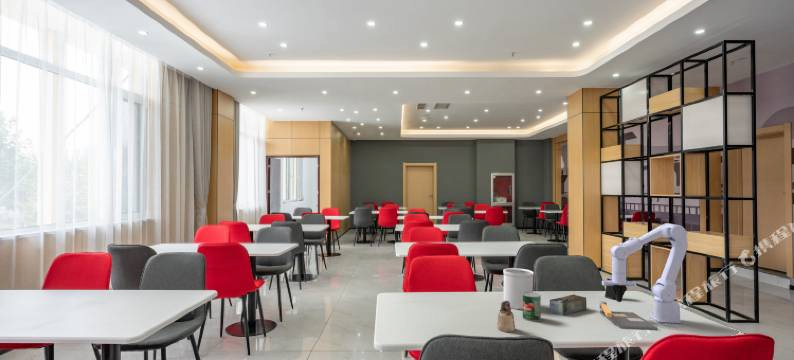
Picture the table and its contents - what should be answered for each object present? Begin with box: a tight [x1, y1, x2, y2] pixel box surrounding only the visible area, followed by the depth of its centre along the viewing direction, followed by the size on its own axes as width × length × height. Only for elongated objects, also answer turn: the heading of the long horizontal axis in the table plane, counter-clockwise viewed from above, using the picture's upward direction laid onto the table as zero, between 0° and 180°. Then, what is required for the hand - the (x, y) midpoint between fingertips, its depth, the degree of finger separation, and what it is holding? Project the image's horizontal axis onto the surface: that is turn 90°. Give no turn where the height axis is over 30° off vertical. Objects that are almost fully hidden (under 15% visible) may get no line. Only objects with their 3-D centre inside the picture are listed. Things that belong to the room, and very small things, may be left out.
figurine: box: [496, 300, 516, 333], centre depth 169 cm, size 7×7×12 cm
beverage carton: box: [549, 294, 588, 316], centre depth 197 cm, size 8×19×7 cm, turn 122°
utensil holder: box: [502, 267, 535, 310], centre depth 204 cm, size 15×15×18 cm
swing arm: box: [599, 301, 612, 317], centre depth 186 cm, size 18×3×3 cm, turn 162°
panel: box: [599, 307, 658, 331], centre depth 183 cm, size 15×21×2 cm
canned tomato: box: [522, 292, 542, 322], centre depth 184 cm, size 8×8×11 cm
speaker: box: [604, 278, 616, 300], centre depth 220 cm, size 8×6×10 cm
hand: (618, 301), depth 187 cm, fingers closed
